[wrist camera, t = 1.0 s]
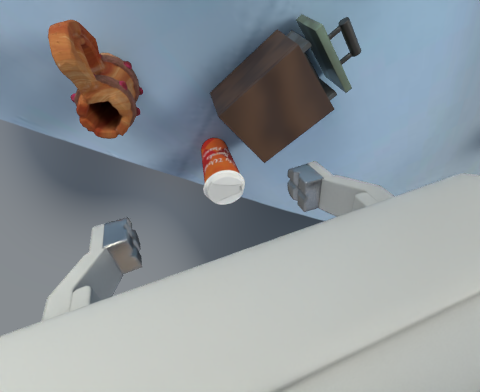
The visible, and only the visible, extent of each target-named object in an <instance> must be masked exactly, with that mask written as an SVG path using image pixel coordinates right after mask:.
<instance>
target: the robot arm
mask: <svg viewBox="0 0 480 392" xmlns="http://www.w3.org/2000/svg"><path fill="white" fill-rule="evenodd" d="M288 177H289V178H290V180H289V182H288V191H289V194H290V196H291V197H292V198H293V200H296V201H298V206H299V207H300V208H301V209H302V210H303V211H304V212H306V211H309V210H313V209H316V208H319V209H321V210H324V211H326V212H328V213H330V214H332V215H335V216H337V217H335V218H333V219H330V220H327V221H324V222H322V223H318V224H316V225H313V226H310V227H307V228H304V229H302V230H299V231H296V232H293V233H290V234H288V235H284V236H282V237H279V238H276V239H273V240H270V241H268V242H265V243H262V244H259V245H256V246H253V247H251V248H248V249H245V250H242V251H240V252H237V253H234V254H231V255H228V256H225V257H222V258H220V259H217V260H214V261H211V262H208V263H206V264H203V265H200V266H197V267H195V268H191V269H189V270H186V271H183V272H180V273H177V274H174V275H172V276H169V277H166V278H163V279H160V280H158V281H155V282H152V283H149V284H146V285H143V286H141V287H138V288H135V289H132V290H129V291H127V292H123V293H121V294H118V295H115V296H113V294H114V292H115V290H116V288H117V286H118V284H119V282H120V281H121V279H122V277H123V274H125V273H128V272H130V271H133V270H135V269H138V268H141V267H142V261H141V255H140V253H139V251H140V242H139V238H138V236H137V233H136V231H135V230H133V229H132V223H131V221H130V220H129V218H128V217H127V218H123V219H120V220H116V221H112V222H109V223H106V224H102V225H99V226H95V227H93V228H92V233H91V241H90V249H89V253H87V254H85V255H84V257H82V259H81V260H80V261H79V262H78V263H77V265H76V266H75V267H74V268H73V269H72V270H71V271H70V272H69V274H68V275H67V276H66V277H65V278H64V280H63V281H62V282H61V283H60V284H59V285H58V286H57V287H56V289H55V290H54V291H53V292H52V293H51V294H50V296H49V297H48V298H47V301H46V305H45V309H44V313H43V317H42V321H41V322H39V323H36V324H33V325H30V326H27V327H25V328H22V329H19V330H16V331H13V332H10V333H8V334H5V335H2V336H0V392H480V175H475V174H467V173H462V174H457V175H454V176H451V177H448V178H445V179H442V180H440V181H437V182H434V183H431V184H428V185H426V186H423V187H420V188H417V189H414V190H411V191H409V192H406V193H403V194H400V195H397V196H394V195H392V194H391V193H390V192H388V191H387V190H386V189H384V188H383V187H381V186H380V185H375V184H371V183H367V182H363V181H359V180H355V179H351V178H347V177H343V176H339V175H334V176H333V175H332V174H331V173H330V172H329V171H327V170H326V169H325V168H324V167H323V166H321V165H320V164H319V163H318V162H316V161H313V162H310V163H307V164H305V165H302V166H298V167H295V168H292V169H289V170H288Z"/></svg>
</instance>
